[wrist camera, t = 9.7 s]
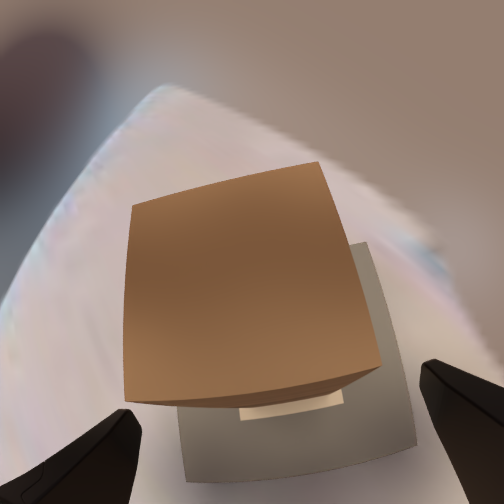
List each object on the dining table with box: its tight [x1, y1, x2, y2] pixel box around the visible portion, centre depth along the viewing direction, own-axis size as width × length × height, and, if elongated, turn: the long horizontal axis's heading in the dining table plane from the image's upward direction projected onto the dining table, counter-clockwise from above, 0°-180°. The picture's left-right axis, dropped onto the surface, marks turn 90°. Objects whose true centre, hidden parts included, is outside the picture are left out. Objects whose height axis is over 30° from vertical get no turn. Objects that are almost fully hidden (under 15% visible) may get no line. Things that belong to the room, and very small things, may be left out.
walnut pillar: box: [123, 162, 382, 408], centre depth 11 cm, size 5×5×13 cm
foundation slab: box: [177, 242, 417, 483], centre depth 18 cm, size 14×14×2 cm
